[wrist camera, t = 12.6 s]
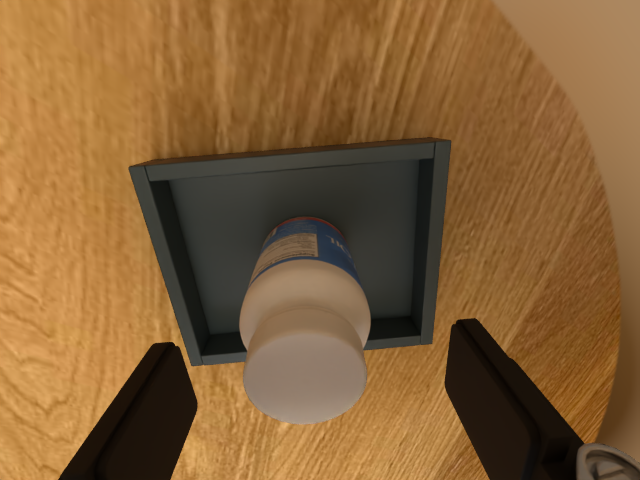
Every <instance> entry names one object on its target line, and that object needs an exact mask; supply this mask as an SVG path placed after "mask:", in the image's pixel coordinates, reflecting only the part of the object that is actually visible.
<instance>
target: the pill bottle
mask: <svg viewBox="0 0 640 480" xmlns="http://www.w3.org/2000/svg"><path fill="white" fill-rule="evenodd" d="M370 325H371V318H370V310H369V306H368V303H367V299H366V296H365V293H364V290H363V287H362V285H361V282H360V279H359V276H358V273H357V270H356V267H355V265H354V262H353V259H352V256H351V253H350V250H349V247H348V245H347V242H346V240H345V239H344V237H343V235H342V234H341V233H340V231H339V230H338V229H337V228H335V227H334V226H333V225H332V224H330V223H328V222H326V221H324V220H322V219H319V218H315V217H296V218H292V219H289V220H287V221H284V222H282V223H281V224H279V225H278V226H277V227H275V228H274V229H273V230H272V231H271V233H270V234H269V235H268V237H267V238H266V240H265V242H264V244H263V246H262V249H261V252H260V255H259V258H258V260H257V263H256V266H255V269H254V271H253V274H252V277H251V280H250V283H249V286H248V289H247V292H246V295H245V298H244V301H243V304H242V308H241V313H240V321H239V329H240V335H241V338H242V341H243V344H244V346H245V348H246V350H247V356H246V361H245V366H244V372H243V383H244V388H245V391H246V393H247V395H248V398H249V399H250V401H251V402H252V403H253V404H254V405H255V406H256V407H257V408H258V409H259V410H260V411H261V412H263V413H264V414H266V415H268V416H270V417H272V418H274V419H277V420H279V421H282V422H287V423H292V424H314V423H319V422H324V421H327V420H330V419H333V418H335V417H337V416H339V415H341V414H343V413H344V412H346V411H347V410H349V409H350V408H351V407H352V406H354V404H355V403H356V402H357V401H358V400H359V399H360V397H361V395H362V394H363V391H364V389H365V386H366V381H367V368H366V363H365V358H364V353H363V348H364V346H365V344H366V341H367V338H368V335H369V332H370Z"/></svg>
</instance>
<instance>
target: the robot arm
mask: <svg viewBox="0 0 640 480" xmlns="http://www.w3.org/2000/svg"><path fill="white" fill-rule="evenodd" d="M445 388H446V392H447V394H448V396H449V398H450V400H451V402H452V404H453V406H454V408H455V410H456V412H457V414H458V416H459V418H460V420H461V422H462V424H463V426H464V428H465V430H466V433H467V435H468V437H469V439H470V441H471V443H472V445H473V447H474V449H475V451H476V453H477V455H478V457H479V459H480V461H481V463H482V465H483V467H484V469H485V471H486V473H487V475H488V477H489V479H490V480H640V463H639V462H638V461H636V460H635V459H633V458H632V457H631V456H629V455H627V454H625V453H624V452H622V451H620V450H618V449H616V448H613V447H610V446H607V445H605V444H599V443H588V444H584V442H583V441H582V440H581V439H580V438H579V436H578V435H577V434H576V433H575V432H574V430H573V429H572V428H571V427H570V426H569V425H568V423H567V422H566V421H565V420H564V419H563V417H562V416H561V415H560V414H559V413H558V411H557V410H556V409H555V408H554V407H553V405H552V404H551V403H550V402H549V401H548V400H547V398H546V397H545V396H544V395H543V394H542V392H541V391H540V390H539V389H538V388H537V386H536V385H535V384H534V383H533V382H532V381H531V379H530V378H529V377H528V376H527V375H526V373H525V372H524V371H523V370H522V369H521V367H520V366H519V365H518V364H517V363H516V362H515V361H514V360H513V359H511V358H509V357H508V356H507V355H506V353H505V352H504V351H503V350H502V349H501V347H500V346H499V345H498V344H497V342H496V341H495V340H494V339H493V338H492V336H491V335H490V334H489V333H488V332H487V330H486V329H485V328H484V327H483V326H482V324H481V323H480V322H479V321H478V320H477V319H475V318H473V319H460V320H457V321H456V324H453V325H452V327H451V334H450V342H449V350H448V358H447V367H446V375H445ZM196 412H197V399H196V396H195V393H194V390H193V387H192V384H191V381H190V378H189V375H188V372H187V368H186V365H185V362H184V359H183V356H182V353H181V350H180V348H179V347H178V346H175V344H174V343H173V342H165V343H155V344H153V345H152V346H151V347H150V348H149V350H148V351H147V353H146V354H145V356H144V357H143V358H142V360H141V361H140V363H139V364H138V366H137V367H136V368H135V370H134V371H133V373H132V374H131V376H130V377H129V378H128V380H127V381H126V383H125V384H124V386H123V387H122V388H121V390H120V391H119V393H118V394H117V396H116V397H115V398H114V400H113V401H112V403H111V404H110V406H109V407H108V408H107V410H106V411H105V413H104V414H103V416H102V417H101V418H100V420H99V421H98V423H97V424H96V426H95V427H94V428H93V430H92V431H91V433H90V434H89V436H88V437H87V438H86V440H85V441H84V443H83V444H82V446H81V447H80V448H79V450H78V451H77V453H76V454H75V456H74V457H73V458H72V460H71V461H70V463H69V464H68V466H67V467H66V468H65V470H64V471H63V473H62V474H61V476H60V478H59V479H58V480H170V479H171V476H172V474H173V471H174V469H175V466H176V464H177V461H178V458H179V456H180V453H181V451H182V448H183V446H184V443H185V440H186V438H187V435H188V433H189V430H190V428H191V425H192V422H193V420H194V417H195V415H196Z"/></svg>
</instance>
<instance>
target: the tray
mask: <svg viewBox="0 0 640 480" xmlns="http://www.w3.org/2000/svg"><path fill="white" fill-rule="evenodd" d="M450 150H451V140H445V139H438V138H431V137H427V138H415V139H403V140H390V141H378V142H365V143H353V144H341V145H328V146H316V147H304V148H291V149H279V150H267V151H254V152H242V153H229V154H217V155H205V156H192V157H180V158H168V159H155V160H150V161H147V162H144V163H140V164H136V165H133V166H130V167H129V172H130V175H131V178H132V181H133V184H134V187H135V191H136V194H137V197H138V200H139V203H140V206H141V209H142V212H143V216H144V219H145V222H146V225H147V228H148V231H149V234H150V238H151V241H152V244H153V247H154V250H155V253H156V256H157V259H158V263H159V266H160V269H161V272H162V275H163V278H164V281H165V285H166V288H167V291H168V294H169V297H170V300H171V303H172V306H173V310H174V313H175V316H176V319H177V322H178V325H179V328H180V332H181V335H182V338H183V341H184V344H185V347H186V350H187V354H188V357H189V360H190V363H191V366H200V365H203V364H204V365H214V364H224V363H235V362H245V361H246V356H247V350H246V348H245V346H244V344H243V341H242V338H241V335H240V329H239V321H240V313H241V308H242V304H243V301H244V298H245V295H246V292H247V289H248V286H249V283H250V280H251V277H252V274H253V271H254V269H255V266H256V263H257V260H258V258H259V255H260V252H261V249H262V246H263V244H264V242H265V240H266V238H267V237H268V235H269V234H270V233H271V231H272V230H273V229H274V228H275V227H277V226H278V225H279V224H281V223H282V222H284V221H287V220H289V219H292V218H296V217H315V218H319V219H322V220H324V221H326V222H328V223H330V224H332V225H333V226H334V227H335V228H337V229H338V230H339V231H340V233H341V234H342V235H343V237H344V239H345V240H346V242H347V245H348V247H349V250H350V253H351V256H352V259H353V262H354V265H355V267H356V270H357V273H358V276H359V279H360V282H361V285H362V287H363V290H364V293H365V296H366V299H367V303H368V306H369V310H370V318H371V325H370V332H369V335H368V338H367V341H366V344H365V346H364V348H363V350H373V349H384V348H394V347H405V346H416V345H426V344H432V340H433V330H434V319H435V309H436V298H437V288H438V277H439V266H440V256H441V245H442V235H443V224H444V213H445V203H446V192H447V182H448V171H449V161H450Z"/></svg>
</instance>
